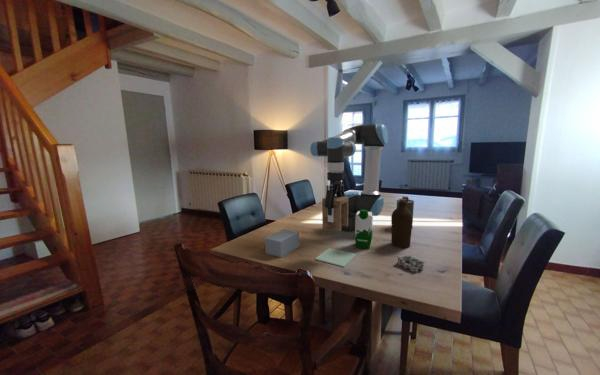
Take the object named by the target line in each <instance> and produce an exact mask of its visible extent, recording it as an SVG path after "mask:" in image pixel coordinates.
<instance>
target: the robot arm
mask: <svg viewBox="0 0 600 375" xmlns="http://www.w3.org/2000/svg"><path fill="white" fill-rule="evenodd" d="M388 142H389V132H388V129H387V126H386V125H384V124H383V123H371V124H357V125H354V126H352V127H348V128H347V129H345V130H343V131H342V132H340V133H339V134H336V135H333V136H331V137H328V138H326V139H325V140H321V141H318V140H317V141H313V142H311V144H310V147H309V149H310V150H309V151H310V155H312V156H313V157H326V160H327V161H326V162H327V164H326V167H327V168H326V169H327V173H326V176H327V177H326V178H327V181H329V185H326V187H325V188H326V193H325V198H326V200H325V208H328V222H334V208H333V200H334V199H335V196H339V197H342V196H343V197H348V226H342V225H341V231H343V232H355V220H356V214H357V212H358V211H360V210H362V209H365V210H368V212H372V216H373V217H377V216H380V214H381V213H382V211H383V208H384V203H385V199H384V197H383V196H381V194H382V193H381V192H380V191H379V188H380V187H379V184H380V172H381V170H380V169H381V158H382V156H381V155H382V150H383V149H384V148H385V146H386V145H387V144H388ZM356 145H363V148H364V150H365V163H364V164H365V166H364V177H363V178H364V179H363V190H361V191H360V194H359V192H358V191H346V192H345V182H344V179H345V178H344V177H345V175H344V174H345V172H344V171H345V169H344V168H345V158H349V157H352V156H354V154H355V152H356V150H357V147H356Z"/></svg>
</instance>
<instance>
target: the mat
mask: <svg viewBox="0 0 600 375" xmlns="http://www.w3.org/2000/svg"><path fill="white" fill-rule="evenodd" d="M357 255H358V254H357V253H354V252H349V251H346V250H341V249H336V248H332V247H329V248H327V249H326V250H324V251H322V253H320V254H319V255H318V256H316V257H315V258H314V260H315V261H318V262H322V263H326V264H329V265H334V266H338V267H342V268H345V267H346V266H347V265H349V263H350V262H351V261H352V260H353V259H355V257H357Z"/></svg>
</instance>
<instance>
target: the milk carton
mask: <svg viewBox="0 0 600 375" xmlns="http://www.w3.org/2000/svg"><path fill="white" fill-rule="evenodd" d="M373 220H374V216H372V212H368V210H365V209H362V210H360V211H358V212H357V214H356V220H355V231H354V240H355V248H359V249H367V250H369V249H370V248H371V245H372V244H371V243H372V239H373V228H374V227H373V225H374V224H373V223H374V222H373Z"/></svg>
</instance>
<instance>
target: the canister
mask: <svg viewBox="0 0 600 375" xmlns="http://www.w3.org/2000/svg"><path fill="white" fill-rule="evenodd" d="M400 199H406V207H407V208H408V209H409V210H410V212H411V213H412V215H413V216H414V208H415V206H414V204H415V201H414V200H412V199H409V196H404V195H403V196H402V198H399V199H396V208H398V207H399V202H400ZM412 225H413V223H412ZM412 229H414V227H413V226H412Z"/></svg>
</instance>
